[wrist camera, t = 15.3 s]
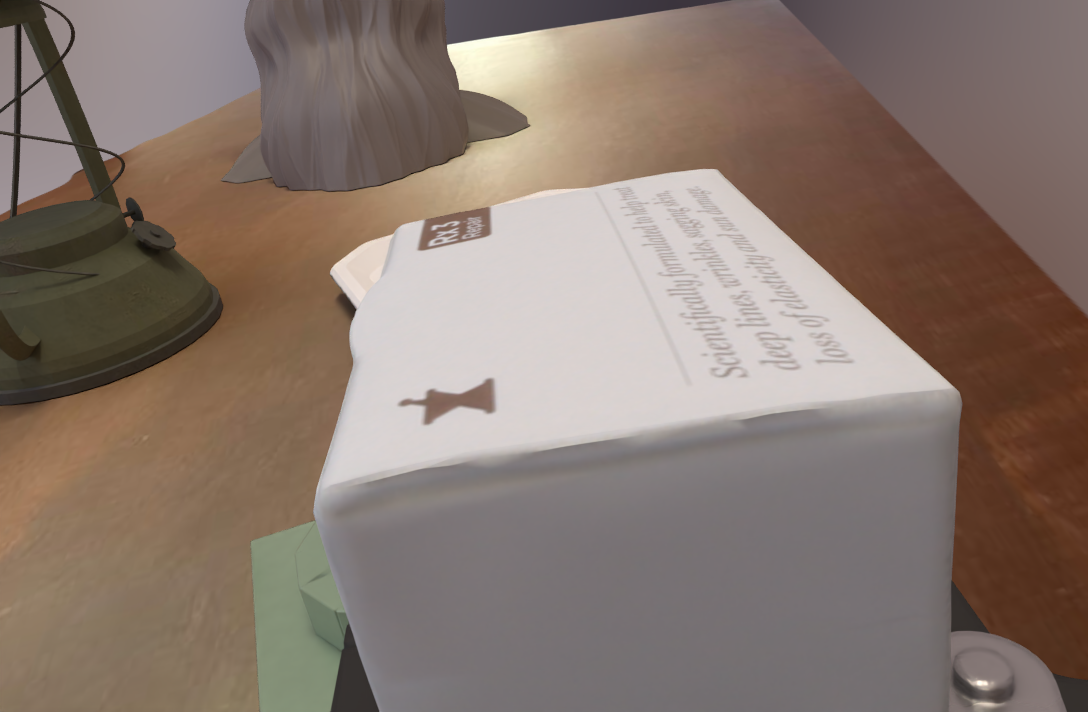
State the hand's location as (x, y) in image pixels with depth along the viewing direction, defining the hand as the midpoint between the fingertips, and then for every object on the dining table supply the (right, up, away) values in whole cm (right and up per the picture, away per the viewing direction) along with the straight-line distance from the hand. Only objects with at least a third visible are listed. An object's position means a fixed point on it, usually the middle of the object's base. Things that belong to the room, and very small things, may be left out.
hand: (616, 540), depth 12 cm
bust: (-19, +26, +86) cm, 92 cm away
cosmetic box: (+1, -8, +1) cm, 8 cm away
